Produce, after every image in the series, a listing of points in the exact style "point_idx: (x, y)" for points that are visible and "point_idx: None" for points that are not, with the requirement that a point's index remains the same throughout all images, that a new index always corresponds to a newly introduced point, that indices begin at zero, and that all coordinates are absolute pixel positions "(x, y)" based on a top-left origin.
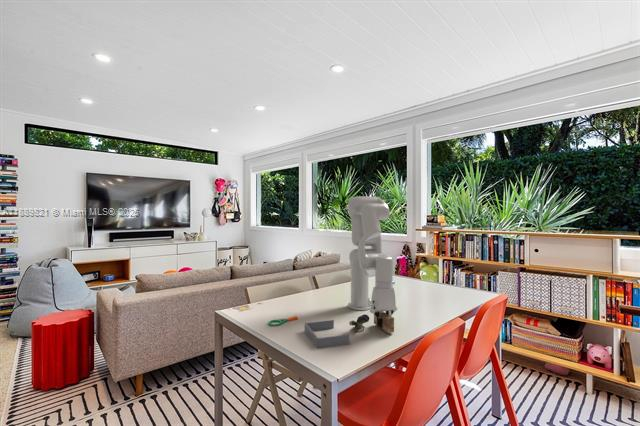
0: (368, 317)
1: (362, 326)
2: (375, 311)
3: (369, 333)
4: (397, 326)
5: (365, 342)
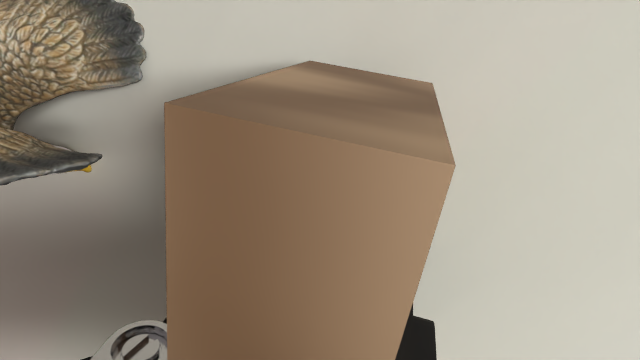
0: (41, 173)
1: (86, 82)
2: (177, 209)
3: (121, 249)
4: (621, 292)
5: (22, 352)
